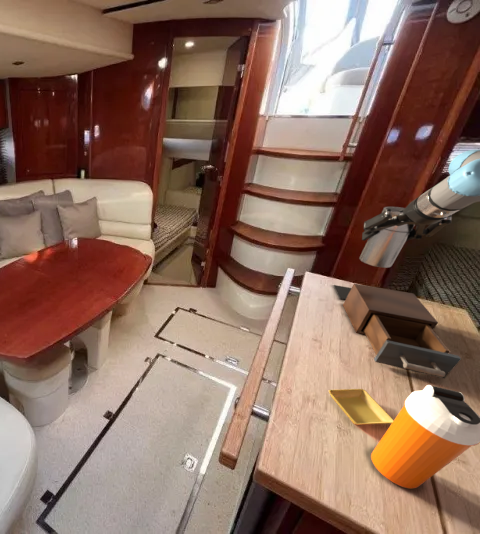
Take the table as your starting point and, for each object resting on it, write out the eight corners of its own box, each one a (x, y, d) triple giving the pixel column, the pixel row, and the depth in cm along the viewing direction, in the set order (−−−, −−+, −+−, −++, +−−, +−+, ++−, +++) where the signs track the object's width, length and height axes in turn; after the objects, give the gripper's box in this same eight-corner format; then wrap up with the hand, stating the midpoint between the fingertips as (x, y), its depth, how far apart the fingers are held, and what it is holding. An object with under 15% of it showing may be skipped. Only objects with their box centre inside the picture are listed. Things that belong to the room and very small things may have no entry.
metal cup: (386, 258, 100) (413, 208, 91) (396, 269, 93) (426, 217, 85) (355, 253, 103) (379, 205, 94) (363, 264, 96) (389, 213, 88)
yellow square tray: (392, 428, 66) (397, 422, 65) (352, 429, 66) (356, 424, 65) (359, 394, 73) (363, 388, 72) (324, 395, 73) (327, 389, 72)
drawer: (454, 392, 72) (472, 371, 69) (381, 373, 77) (394, 354, 74) (419, 342, 86) (432, 323, 83) (359, 330, 91) (369, 311, 88)
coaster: (363, 291, 110) (364, 290, 109) (372, 305, 103) (372, 304, 102) (333, 286, 113) (333, 284, 113) (339, 299, 106) (340, 298, 106)
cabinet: (420, 346, 86) (438, 322, 82) (355, 332, 91) (369, 309, 87) (399, 315, 98) (413, 293, 93) (342, 305, 103) (353, 283, 99)
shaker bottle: (381, 487, 56) (443, 422, 46) (355, 440, 64) (404, 375, 54) (440, 500, 54) (518, 435, 44) (406, 450, 62) (467, 385, 52)
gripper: (380, 213, 80) (339, 244, 100) (493, 224, 72) (423, 255, 93) (382, 188, 81) (342, 223, 102) (492, 196, 74) (424, 232, 94)
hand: (380, 238), depth 97 cm, fingers closed on metal cup, 8 cm apart
